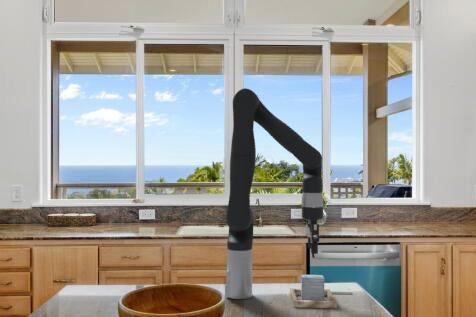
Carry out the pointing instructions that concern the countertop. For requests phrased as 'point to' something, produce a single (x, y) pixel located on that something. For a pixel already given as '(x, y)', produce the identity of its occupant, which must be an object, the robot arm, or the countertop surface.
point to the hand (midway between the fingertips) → (312, 251)
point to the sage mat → (337, 288)
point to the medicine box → (312, 287)
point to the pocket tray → (311, 303)
